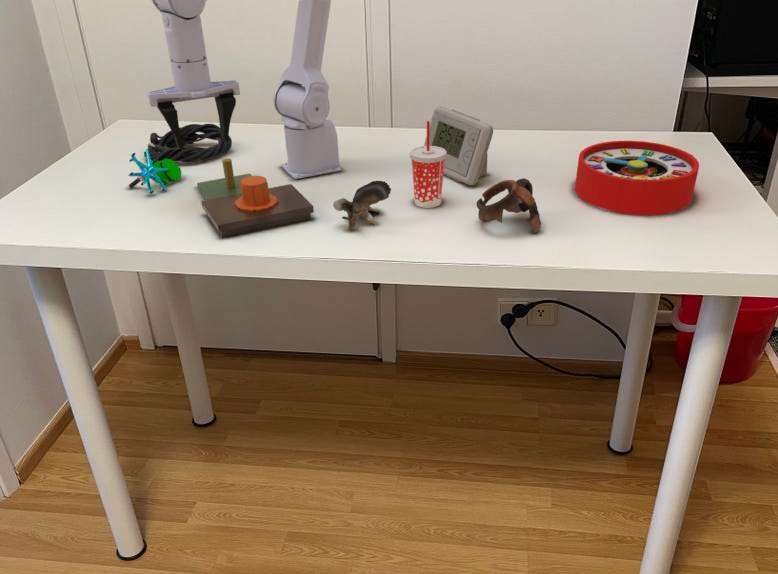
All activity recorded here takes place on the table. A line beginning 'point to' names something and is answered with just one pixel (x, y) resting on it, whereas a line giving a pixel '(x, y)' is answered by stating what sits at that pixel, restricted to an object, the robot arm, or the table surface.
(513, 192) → the brown broken ring
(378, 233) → the table surface
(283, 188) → the stand
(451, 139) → the digital clock
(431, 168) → the beverage cup
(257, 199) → the hat
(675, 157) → the toy clock
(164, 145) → the cable
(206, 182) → the stand
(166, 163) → the stick construction toy
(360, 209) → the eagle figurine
